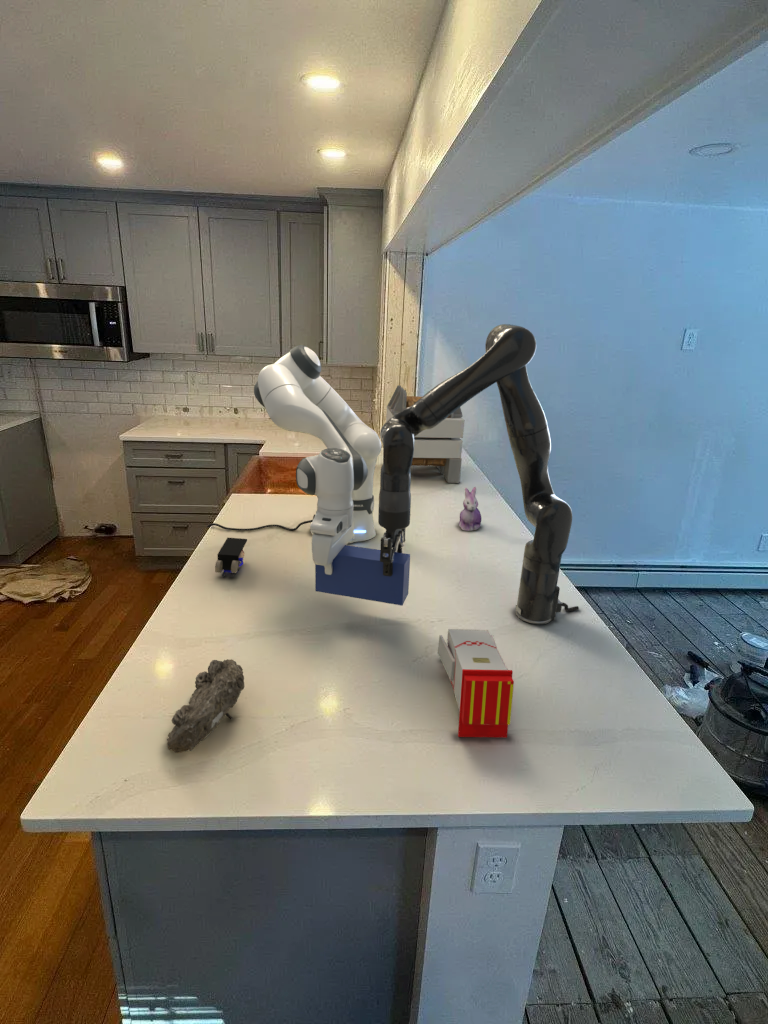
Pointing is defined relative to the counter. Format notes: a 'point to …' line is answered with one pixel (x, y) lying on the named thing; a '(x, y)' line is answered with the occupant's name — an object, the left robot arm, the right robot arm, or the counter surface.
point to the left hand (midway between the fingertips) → (334, 567)
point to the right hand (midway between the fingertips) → (392, 568)
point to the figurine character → (230, 556)
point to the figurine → (470, 512)
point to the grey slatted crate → (434, 438)
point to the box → (365, 576)
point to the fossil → (206, 705)
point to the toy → (478, 682)
